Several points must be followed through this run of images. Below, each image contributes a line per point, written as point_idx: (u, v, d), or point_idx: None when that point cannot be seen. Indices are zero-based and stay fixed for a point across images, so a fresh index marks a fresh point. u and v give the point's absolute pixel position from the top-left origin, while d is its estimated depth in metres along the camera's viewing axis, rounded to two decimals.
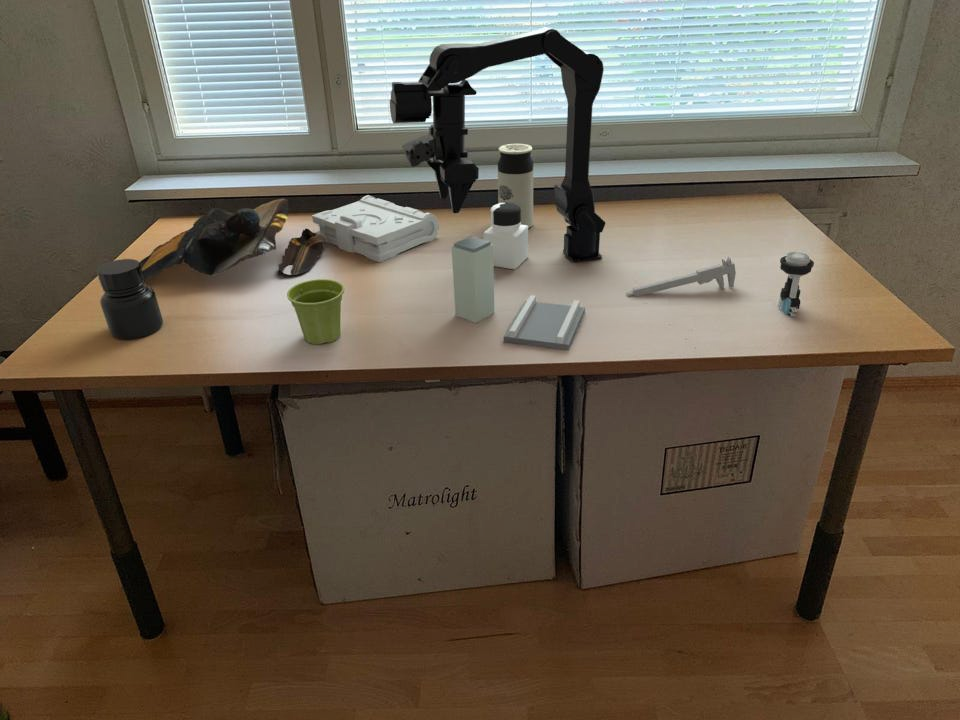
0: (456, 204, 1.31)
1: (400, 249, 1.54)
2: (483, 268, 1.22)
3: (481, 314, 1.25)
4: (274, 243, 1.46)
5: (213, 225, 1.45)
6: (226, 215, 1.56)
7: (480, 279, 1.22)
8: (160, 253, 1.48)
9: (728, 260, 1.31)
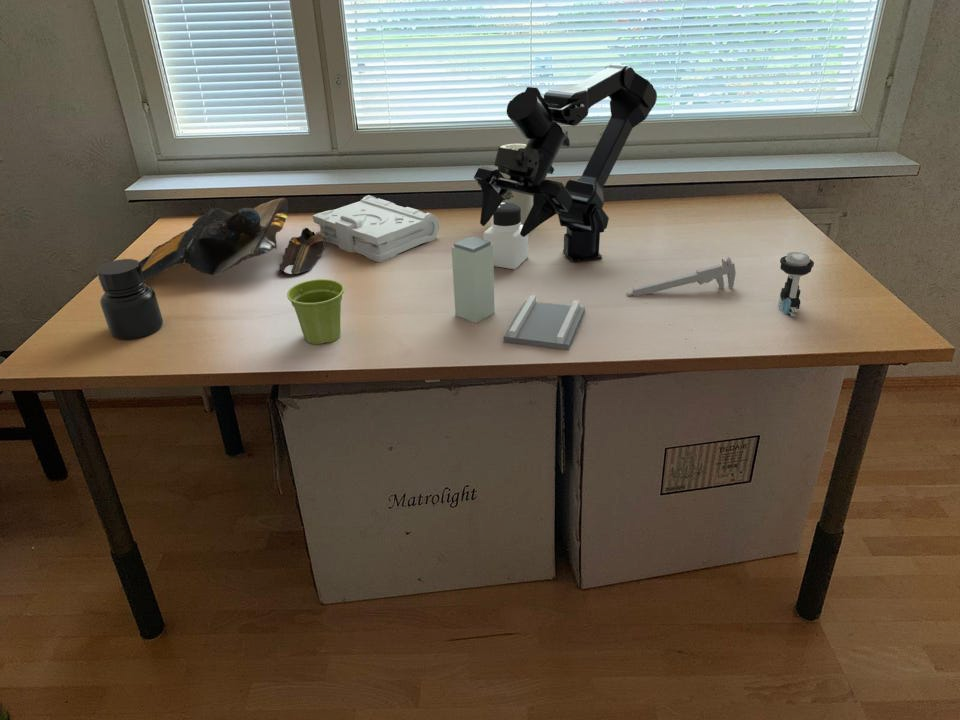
0: (529, 227, 1.23)
1: (400, 249, 1.54)
2: (483, 268, 1.22)
3: (481, 314, 1.25)
4: (275, 242, 1.46)
5: (213, 225, 1.45)
6: (226, 215, 1.56)
7: (480, 279, 1.22)
8: (160, 253, 1.48)
9: (728, 260, 1.31)
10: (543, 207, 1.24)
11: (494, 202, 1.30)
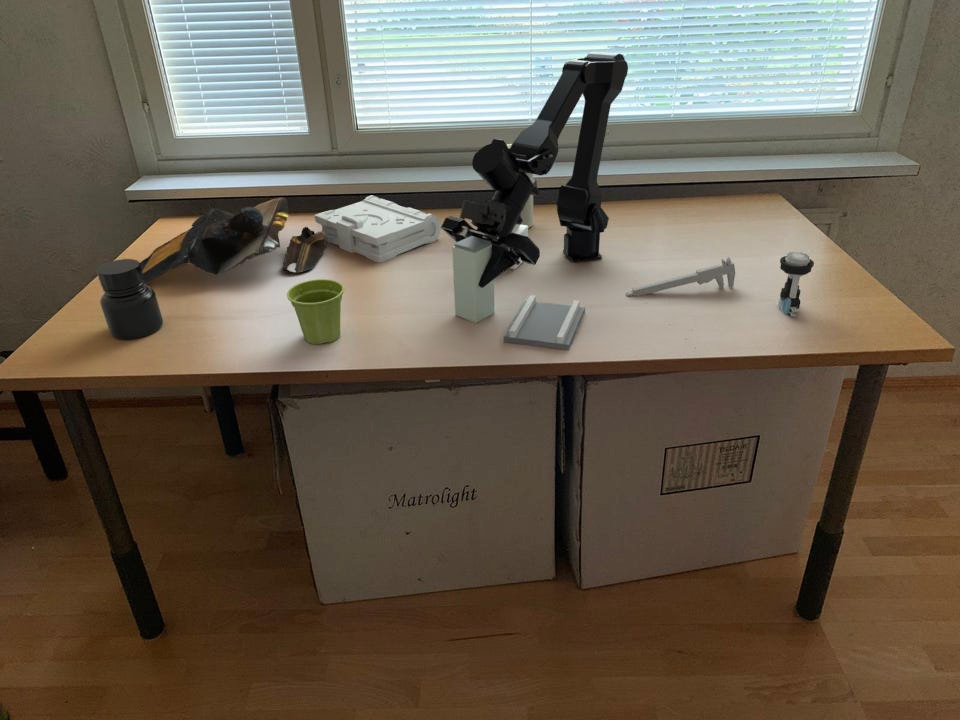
0: (488, 278, 1.22)
1: (400, 250, 1.53)
2: (484, 268, 1.22)
3: (481, 313, 1.25)
4: (278, 241, 1.47)
5: (216, 225, 1.45)
6: (225, 215, 1.57)
7: None
8: (162, 254, 1.47)
9: (727, 260, 1.31)
10: (502, 258, 1.22)
11: None
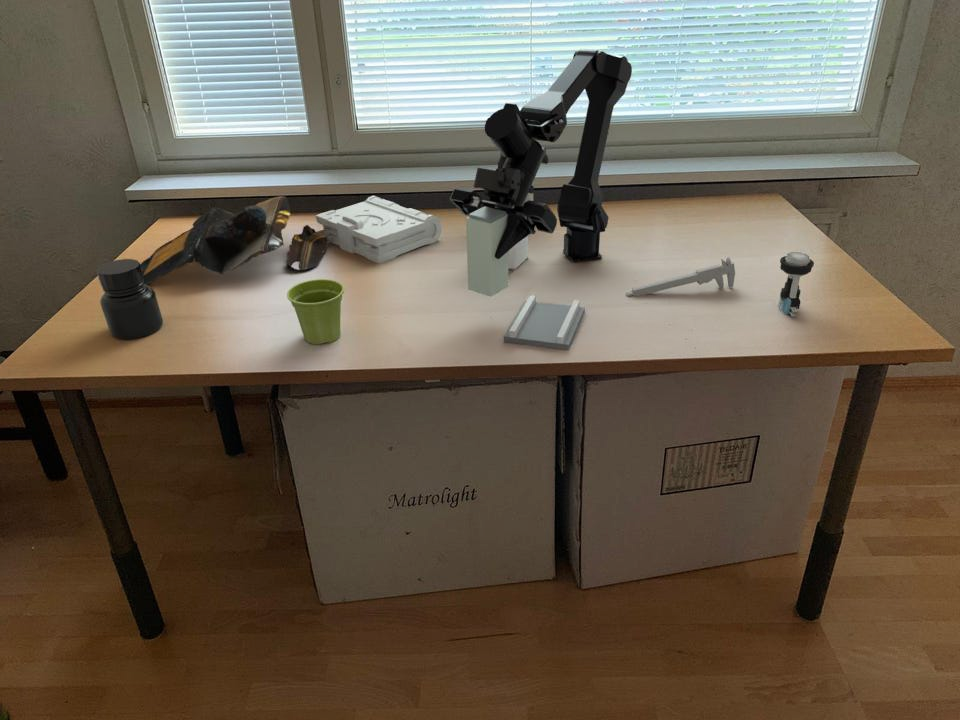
0: (504, 248, 1.18)
1: (400, 251, 1.53)
2: (499, 240, 1.17)
3: (496, 287, 1.21)
4: (282, 239, 1.47)
5: (219, 223, 1.46)
6: (226, 214, 1.57)
7: None
8: (164, 254, 1.47)
9: (727, 261, 1.31)
10: (517, 227, 1.18)
11: None
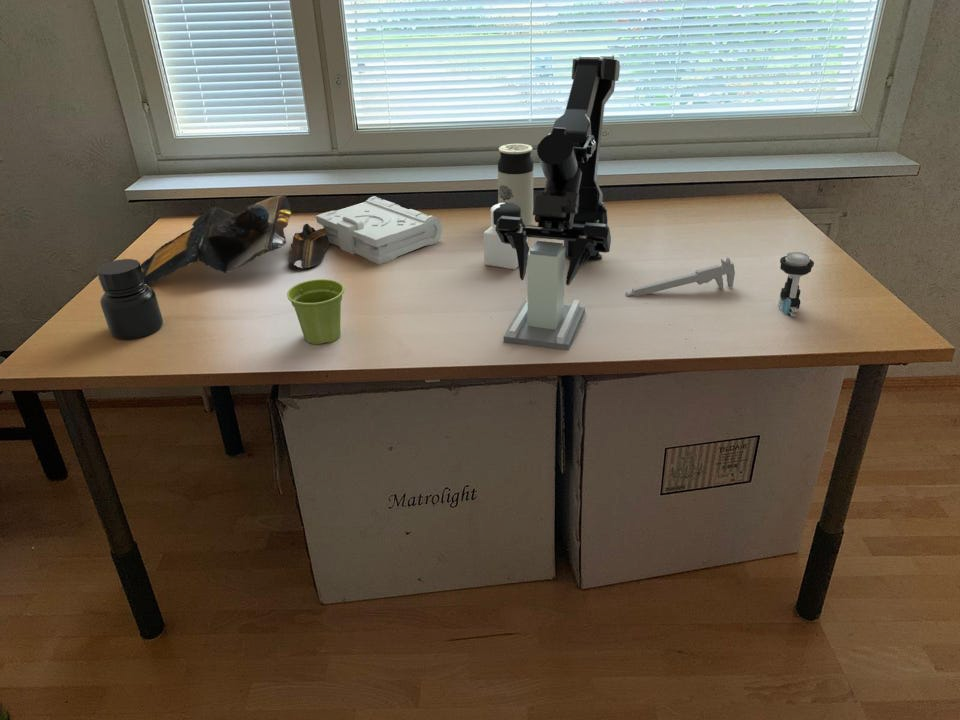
0: (573, 273, 1.16)
1: (401, 252, 1.52)
2: (561, 272, 1.17)
3: (558, 319, 1.20)
4: (284, 238, 1.48)
5: (221, 223, 1.46)
6: (226, 214, 1.57)
7: (559, 284, 1.17)
8: (166, 254, 1.47)
9: (727, 261, 1.31)
10: None
11: (526, 253, 1.20)
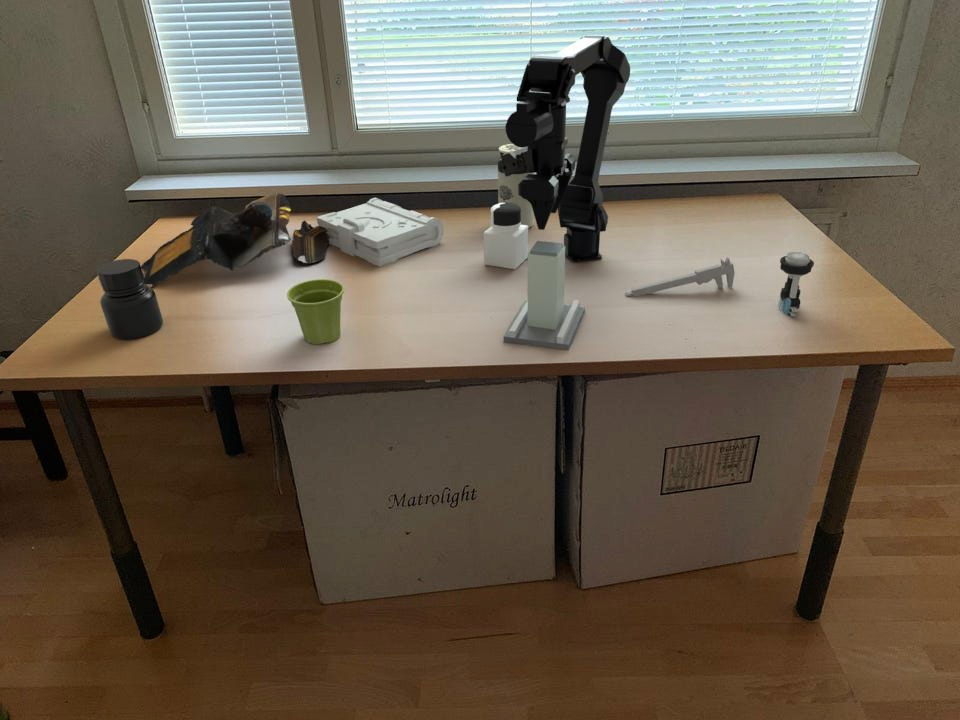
0: (540, 220, 1.26)
1: (402, 254, 1.51)
2: (561, 272, 1.17)
3: (558, 319, 1.20)
4: (288, 234, 1.50)
5: (225, 221, 1.47)
6: (225, 213, 1.58)
7: (559, 284, 1.17)
8: (169, 253, 1.47)
9: (726, 261, 1.31)
10: None
11: None
